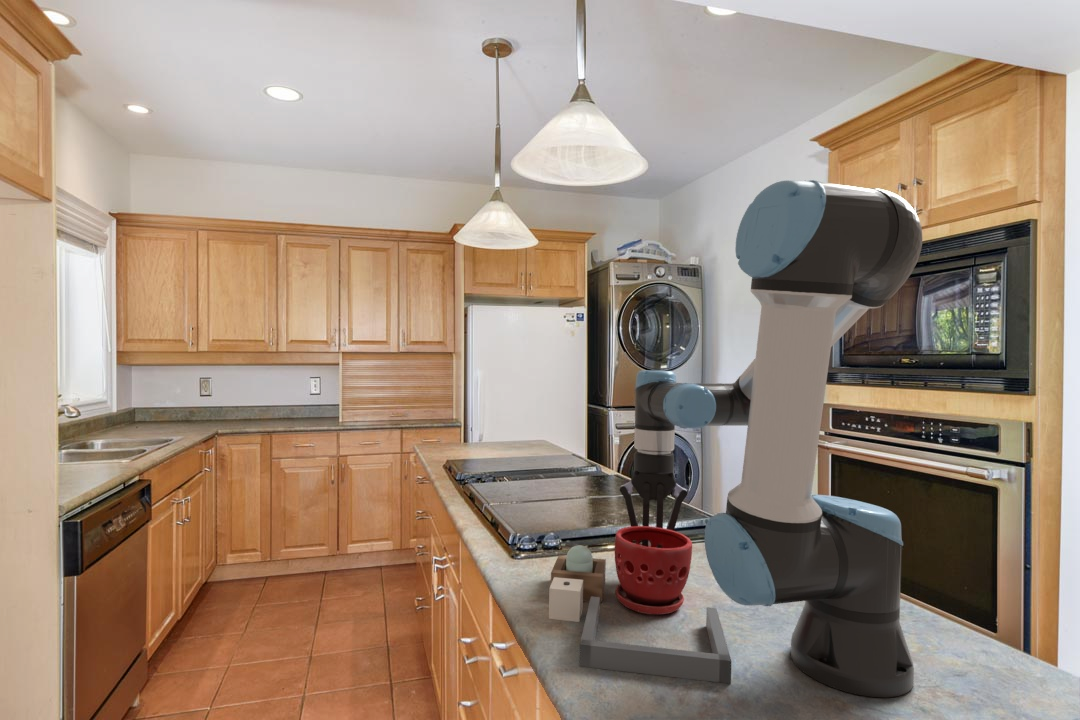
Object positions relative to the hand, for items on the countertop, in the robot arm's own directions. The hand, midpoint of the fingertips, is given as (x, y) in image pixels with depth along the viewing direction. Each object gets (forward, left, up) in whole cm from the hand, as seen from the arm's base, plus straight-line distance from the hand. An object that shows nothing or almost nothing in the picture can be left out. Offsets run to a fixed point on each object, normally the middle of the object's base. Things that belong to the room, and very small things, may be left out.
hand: (651, 574), depth 112 cm
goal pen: (0, +25, -1) cm, 25 cm away
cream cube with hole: (+14, +18, -1) cm, 23 cm away
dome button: (+13, +8, 0) cm, 15 cm away
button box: (+13, +8, -1) cm, 15 cm away
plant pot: (0, +11, -2) cm, 11 cm away
